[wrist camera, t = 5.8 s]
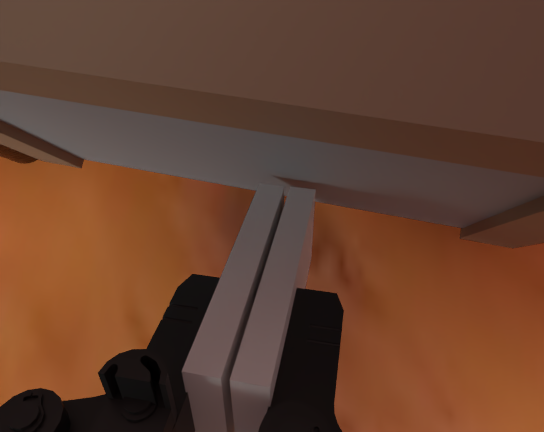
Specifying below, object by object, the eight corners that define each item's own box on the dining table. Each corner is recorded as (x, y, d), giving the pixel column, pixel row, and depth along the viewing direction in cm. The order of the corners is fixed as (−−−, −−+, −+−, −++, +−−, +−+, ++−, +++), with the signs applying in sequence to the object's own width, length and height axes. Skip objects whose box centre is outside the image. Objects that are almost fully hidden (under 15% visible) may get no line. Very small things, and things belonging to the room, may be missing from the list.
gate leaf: (39, 160, 19) (-363, -2, 8) (53, 110, 19) (-321, -114, 8) (512, 248, 16) (894, 181, 5) (521, 187, 16) (905, -2, 5)
